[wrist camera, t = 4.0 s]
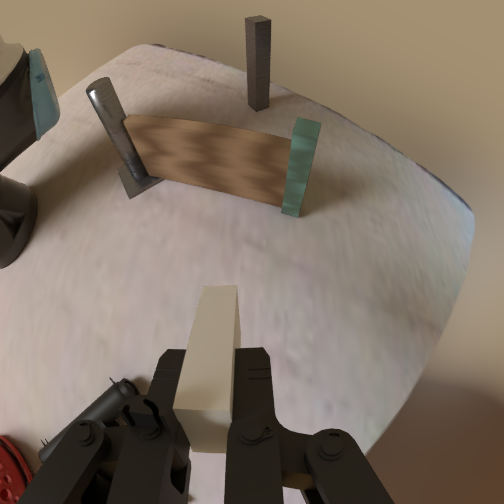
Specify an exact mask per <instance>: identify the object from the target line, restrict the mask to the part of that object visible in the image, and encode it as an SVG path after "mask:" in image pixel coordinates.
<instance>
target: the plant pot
mask: <svg viewBox="0 0 504 504" xmlns="http://www.w3.org/2000/svg"><path fill="white" fill-rule="evenodd" d="M32 479H33V478H32V475H31V473H30V470H29V468H28V466H27V464H26V462H25V461H24V459H23V457H22V456H21V454H20V453H19V452H18V450H17V449H16V448H15V447H14V446H13V445H12V444H11V443H10V442H9V441H8V440H7V439H5V438H4V437H2V436H0V504H16V503H17V501H18V500H19V498H20V497H21V495H22V494H23V492H24V491H25V489H26V488H27V486H28V485H29V484H30V482H31V481H32Z"/></svg>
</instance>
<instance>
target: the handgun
mask: <svg viewBox="0 0 504 504" xmlns="http://www.w3.org/2000/svg"><path fill="white" fill-rule="evenodd" d="M109 378H110V377H109ZM110 380H111V381H112V378H110ZM112 382H113V381H112ZM137 395H140V393H139V391H138V389H137V388H136V387H135V385H134V384H133V383H132V382H130V381H129V380H127V379H125V378H123V379H122V380H121V381H120V382H116V383H115V382H113V385H112V386H111V387H110V388H109V389H108V390H106V391H105V392H104V393H103V394H102V395H101V396H100V397H99V398H98V399H97V400H95V401H94V402H93V403H92V404H91V405H90V406H89V407H88V408H87V409H85V410H84V411H83V412H82V413H81V414H80V415H79V416H78V417H77V418H75V419H74V420H73V421H72V422H71V423H70V424H69V425H68V426H67V427H65V428H64V429H63V430H62V431H61V432H60V433H59V434H58V435H57V436H55V437H54V438H53V439H52V440H51V441H50V442H49V443H48V442H47V440H46V439H45V440H46V442H47V443H48V444H47V445H45V444H44V443H43V442H42V443H43V444H44V447H43V448H42V449H41V450H40V452H39V458H40V460H41V462H42V463H43V464H44V462H45V461H46V460H47V458H48V457H49V455H50V454H51V453H52V451H53V450H54V448H55V447H56V446H57V444H58V443H59V442H60V440H61V439H62V438H63V436H64V435H65V434H66V432H67V431H68V430H69V428H70V427H71V426H72V425H73V424H74V423H76V422H78V421H80V420H88V419H89V420H92V421H95V422H97V423H98V424H99V425H100V426H101V427H102V428H109V427H119V424H118V423H117V422H116V421H115V420H116V419H117V418H118V417H119V416H120V415H121V414H120V413H119V411H118V409H119V407H120V406H121V404H122V403H123V402H124V401H126V400H127V399H128V398H131V397H134V396H137ZM41 441H42V440H41Z"/></svg>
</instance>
